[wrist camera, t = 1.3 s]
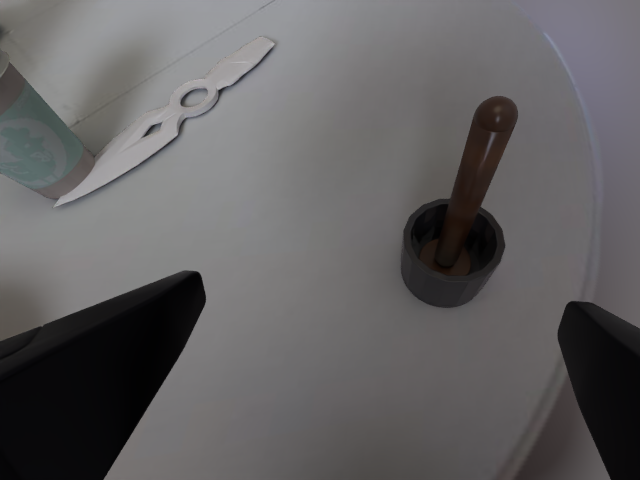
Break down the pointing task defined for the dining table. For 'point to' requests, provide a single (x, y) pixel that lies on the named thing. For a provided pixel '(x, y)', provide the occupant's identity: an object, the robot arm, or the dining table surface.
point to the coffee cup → (37, 139)
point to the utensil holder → (480, 244)
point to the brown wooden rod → (471, 184)
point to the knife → (166, 120)
